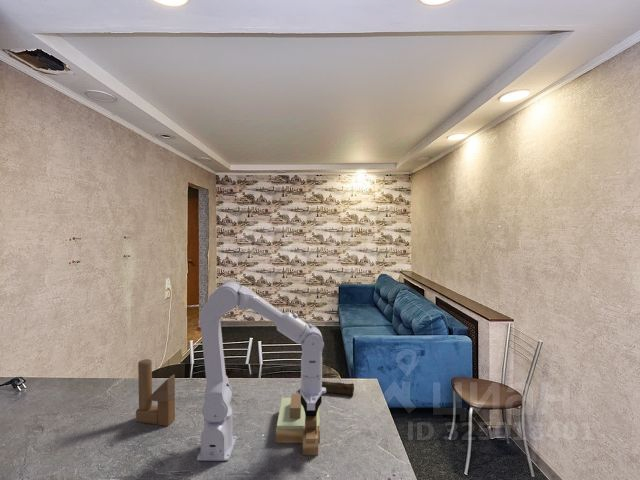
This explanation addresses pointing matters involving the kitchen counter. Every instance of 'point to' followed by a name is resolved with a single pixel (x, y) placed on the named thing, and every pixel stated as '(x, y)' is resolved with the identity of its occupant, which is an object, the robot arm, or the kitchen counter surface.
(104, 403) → the kitchen counter surface
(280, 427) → the lid
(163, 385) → the wooden block
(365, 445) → the kitchen counter surface
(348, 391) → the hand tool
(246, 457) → the kitchen counter surface
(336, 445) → the kitchen counter surface
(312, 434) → the l-shaped wooden piece
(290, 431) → the wooden slab
